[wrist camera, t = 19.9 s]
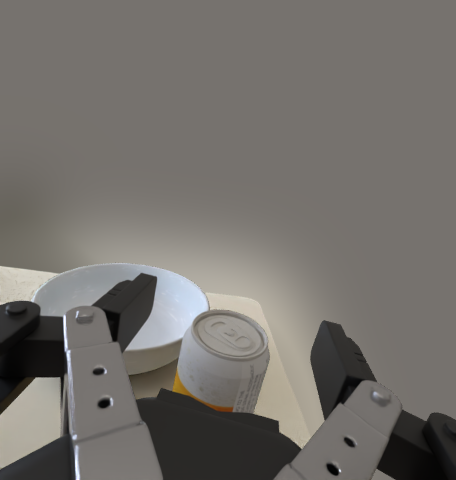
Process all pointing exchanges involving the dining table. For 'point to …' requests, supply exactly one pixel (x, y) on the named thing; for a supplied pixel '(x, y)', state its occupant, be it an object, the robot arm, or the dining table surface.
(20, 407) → the dining table surface
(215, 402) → the lager tin can
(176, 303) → the serving bowl
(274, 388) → the dining table surface
